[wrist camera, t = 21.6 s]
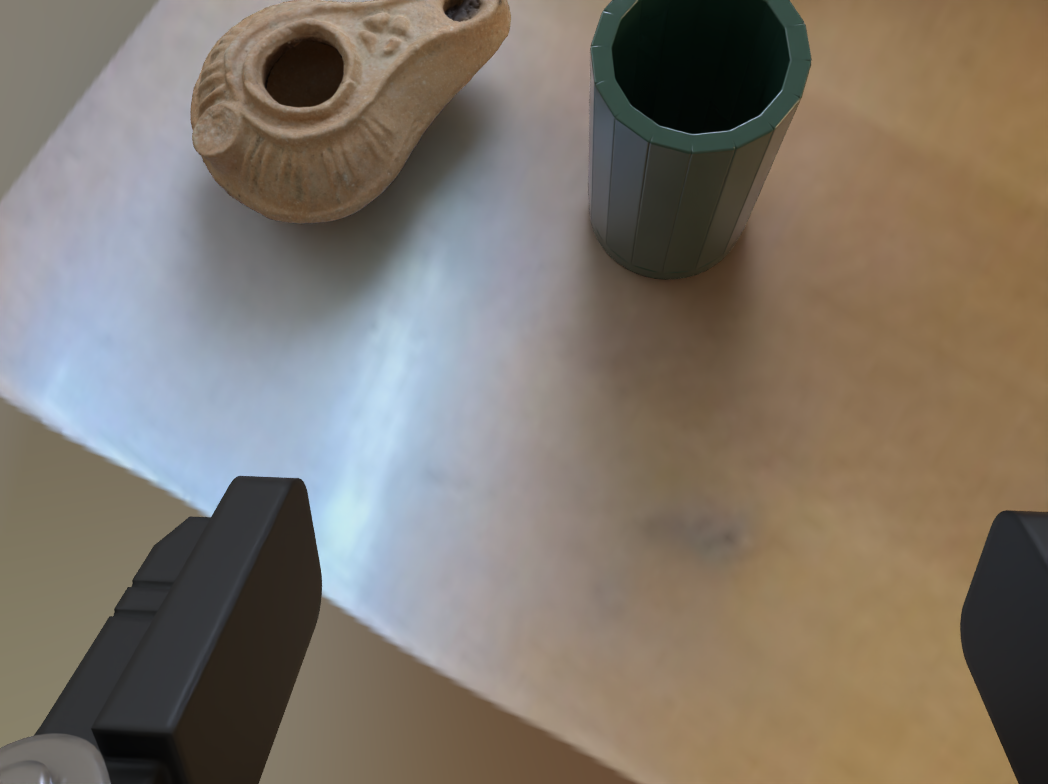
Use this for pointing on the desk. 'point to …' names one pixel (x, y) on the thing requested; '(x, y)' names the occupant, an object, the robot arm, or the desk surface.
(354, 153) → the pottery oil lamp
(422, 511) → the desk surface
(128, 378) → the desk surface
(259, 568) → the robot arm
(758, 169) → the pot
